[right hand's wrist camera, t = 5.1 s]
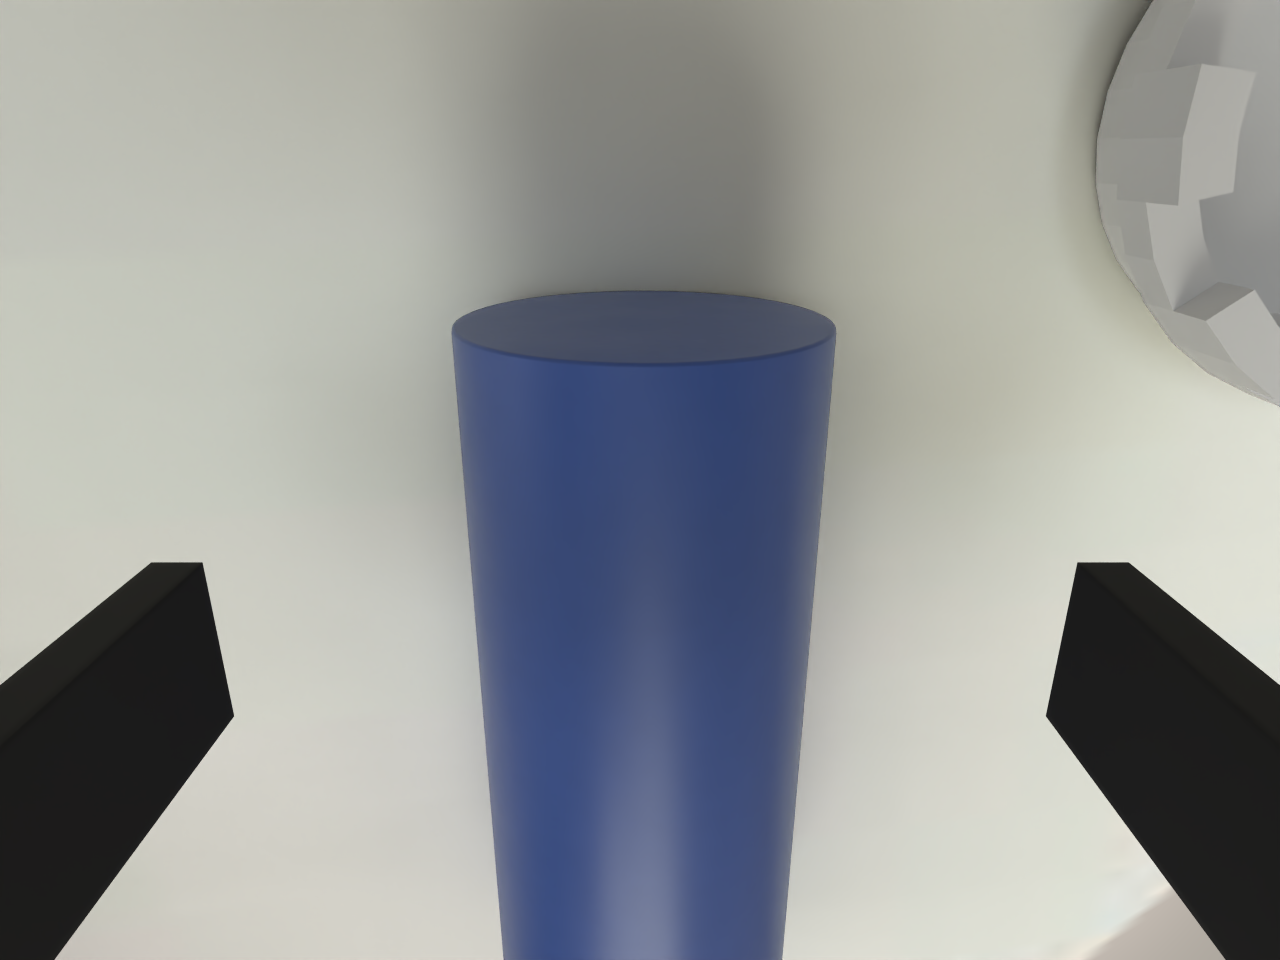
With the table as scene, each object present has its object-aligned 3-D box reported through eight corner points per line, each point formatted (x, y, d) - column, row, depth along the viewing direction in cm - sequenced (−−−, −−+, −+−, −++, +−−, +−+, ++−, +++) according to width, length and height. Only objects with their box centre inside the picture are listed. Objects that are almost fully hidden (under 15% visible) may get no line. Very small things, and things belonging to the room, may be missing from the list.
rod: (488, 290, 23) (405, 363, 15) (799, 290, 23) (882, 364, 15) (529, 915, 31) (490, 1174, 23) (756, 916, 31) (794, 1176, 23)
